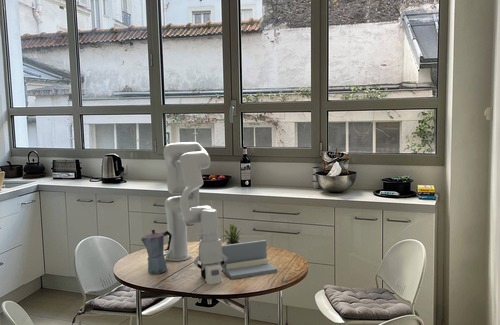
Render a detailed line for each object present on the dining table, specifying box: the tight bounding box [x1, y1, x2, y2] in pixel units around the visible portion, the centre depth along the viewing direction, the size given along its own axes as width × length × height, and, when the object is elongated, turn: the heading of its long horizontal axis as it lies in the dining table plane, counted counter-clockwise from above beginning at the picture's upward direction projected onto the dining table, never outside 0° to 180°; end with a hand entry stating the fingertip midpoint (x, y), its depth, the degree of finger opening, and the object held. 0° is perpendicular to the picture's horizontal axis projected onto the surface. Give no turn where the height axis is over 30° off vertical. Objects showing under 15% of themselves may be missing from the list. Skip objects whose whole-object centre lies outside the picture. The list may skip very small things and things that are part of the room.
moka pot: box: [140, 229, 172, 275], centre depth 220 cm, size 10×15×20 cm, turn 130°
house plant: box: [220, 222, 244, 245], centre depth 244 cm, size 14×14×16 cm
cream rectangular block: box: [203, 263, 223, 285], centre depth 208 cm, size 6×13×7 cm, turn 20°
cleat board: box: [221, 239, 278, 280], centre depth 217 cm, size 22×14×12 cm, turn 110°
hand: (211, 276), depth 208 cm, fingers closed on cream rectangular block, 6 cm apart
